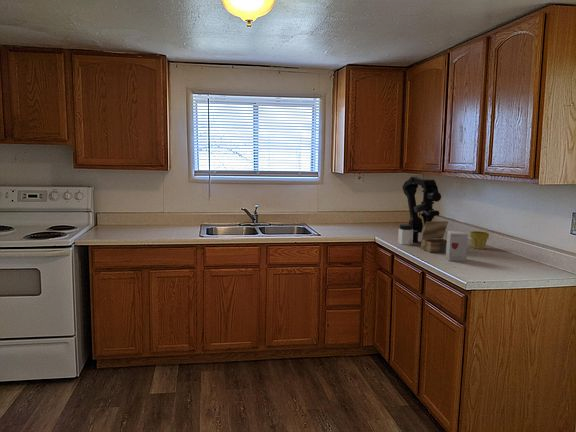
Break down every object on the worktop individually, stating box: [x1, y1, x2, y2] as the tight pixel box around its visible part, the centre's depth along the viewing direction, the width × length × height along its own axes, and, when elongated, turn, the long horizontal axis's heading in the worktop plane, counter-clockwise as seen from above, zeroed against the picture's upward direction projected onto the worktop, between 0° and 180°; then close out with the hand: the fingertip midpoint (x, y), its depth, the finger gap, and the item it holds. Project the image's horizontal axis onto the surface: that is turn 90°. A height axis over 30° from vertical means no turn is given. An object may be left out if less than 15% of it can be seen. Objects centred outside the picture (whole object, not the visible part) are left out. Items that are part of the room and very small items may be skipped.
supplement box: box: [445, 230, 469, 263], centre depth 261 cm, size 9×9×15 cm
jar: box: [397, 223, 414, 246], centre depth 306 cm, size 9×8×12 cm
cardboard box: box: [420, 238, 447, 254], centre depth 285 cm, size 12×14×6 cm
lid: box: [420, 220, 449, 239], centre depth 288 cm, size 12×14×1 cm
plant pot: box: [469, 230, 490, 250], centre depth 295 cm, size 10×10×10 cm
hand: (426, 225), depth 297 cm, fingers open, 3 cm apart
